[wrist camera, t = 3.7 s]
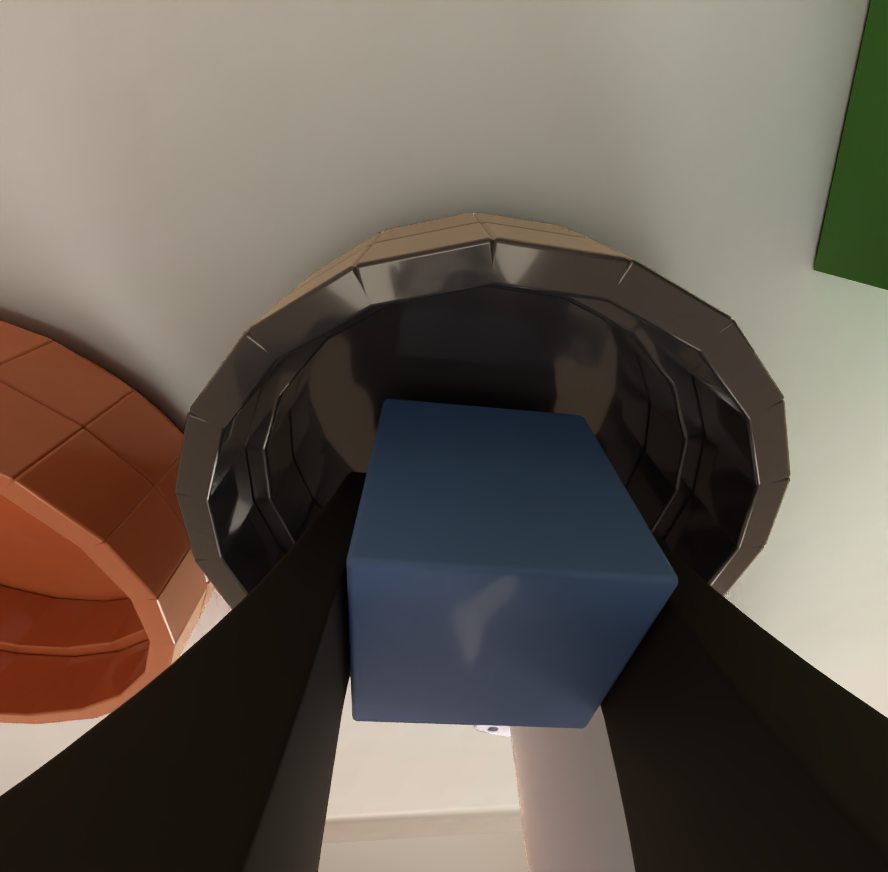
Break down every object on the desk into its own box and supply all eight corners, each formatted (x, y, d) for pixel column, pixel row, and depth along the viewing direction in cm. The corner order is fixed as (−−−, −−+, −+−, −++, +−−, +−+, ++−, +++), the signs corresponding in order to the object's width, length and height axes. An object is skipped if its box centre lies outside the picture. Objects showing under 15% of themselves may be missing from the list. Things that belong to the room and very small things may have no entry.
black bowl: (778, 353, 10) (941, 441, 7) (530, 606, 16) (554, 722, 13) (333, 91, 7) (249, 30, 4) (222, 514, 13) (149, 633, 10)
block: (583, 413, 9) (684, 581, 5) (538, 549, 12) (586, 731, 8) (384, 396, 9) (344, 561, 5) (380, 540, 11) (351, 722, 8)
